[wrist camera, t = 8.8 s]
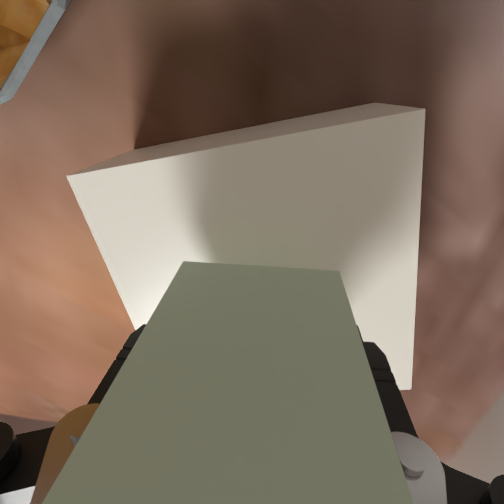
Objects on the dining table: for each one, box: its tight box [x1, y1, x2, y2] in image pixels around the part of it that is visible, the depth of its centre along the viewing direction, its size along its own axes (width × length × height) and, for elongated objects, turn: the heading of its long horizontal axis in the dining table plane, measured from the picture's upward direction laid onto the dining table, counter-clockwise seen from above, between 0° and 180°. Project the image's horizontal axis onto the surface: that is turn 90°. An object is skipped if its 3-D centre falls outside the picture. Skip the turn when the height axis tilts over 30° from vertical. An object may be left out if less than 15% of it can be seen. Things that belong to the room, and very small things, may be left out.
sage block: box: [42, 261, 414, 504], centre depth 8 cm, size 5×5×7 cm
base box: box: [67, 103, 425, 390], centre depth 15 cm, size 12×12×6 cm
